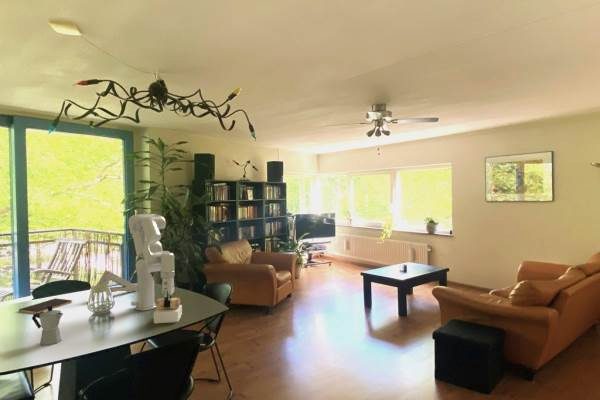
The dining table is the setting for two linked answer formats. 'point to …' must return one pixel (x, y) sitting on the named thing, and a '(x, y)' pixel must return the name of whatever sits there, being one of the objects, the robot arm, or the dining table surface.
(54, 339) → the coffee maker
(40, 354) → the dining table surface
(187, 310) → the dining table surface
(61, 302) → the hardcover book
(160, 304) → the tan brown rectangular block
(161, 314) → the white recessed tray
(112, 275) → the wall bracket
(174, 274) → the robot arm
